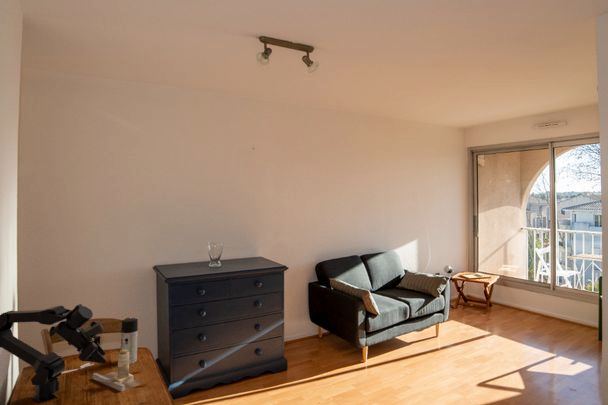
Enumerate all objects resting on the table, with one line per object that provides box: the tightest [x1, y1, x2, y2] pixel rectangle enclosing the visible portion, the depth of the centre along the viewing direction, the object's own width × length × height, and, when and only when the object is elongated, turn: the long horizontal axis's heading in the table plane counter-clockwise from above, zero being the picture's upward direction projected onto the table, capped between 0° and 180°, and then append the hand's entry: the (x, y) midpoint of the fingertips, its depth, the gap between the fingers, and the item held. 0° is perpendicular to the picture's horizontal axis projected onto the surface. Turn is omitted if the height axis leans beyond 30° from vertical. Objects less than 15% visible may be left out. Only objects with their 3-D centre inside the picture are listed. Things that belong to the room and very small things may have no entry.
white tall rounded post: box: [113, 349, 135, 385], centre depth 153 cm, size 6×5×13 cm
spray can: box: [120, 317, 139, 365], centre depth 175 cm, size 7×7×20 cm
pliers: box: [61, 362, 94, 375], centre depth 166 cm, size 10×2×15 cm
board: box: [92, 371, 143, 393], centre depth 154 cm, size 9×20×4 cm, turn 57°
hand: (105, 358), depth 150 cm, fingers open, 9 cm apart
